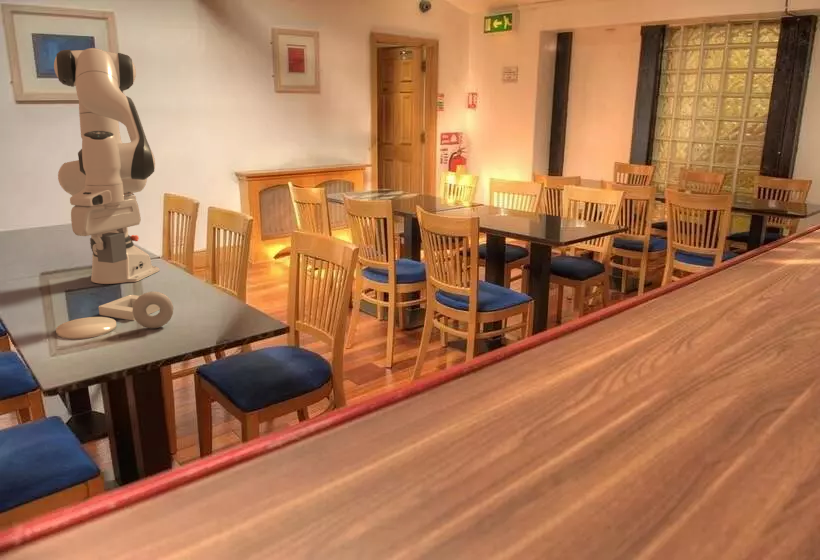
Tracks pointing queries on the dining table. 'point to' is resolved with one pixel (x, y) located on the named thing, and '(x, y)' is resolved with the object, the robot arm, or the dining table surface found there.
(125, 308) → the pocket collar
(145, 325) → the donut
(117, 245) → the block
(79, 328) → the peach ellipsoid
